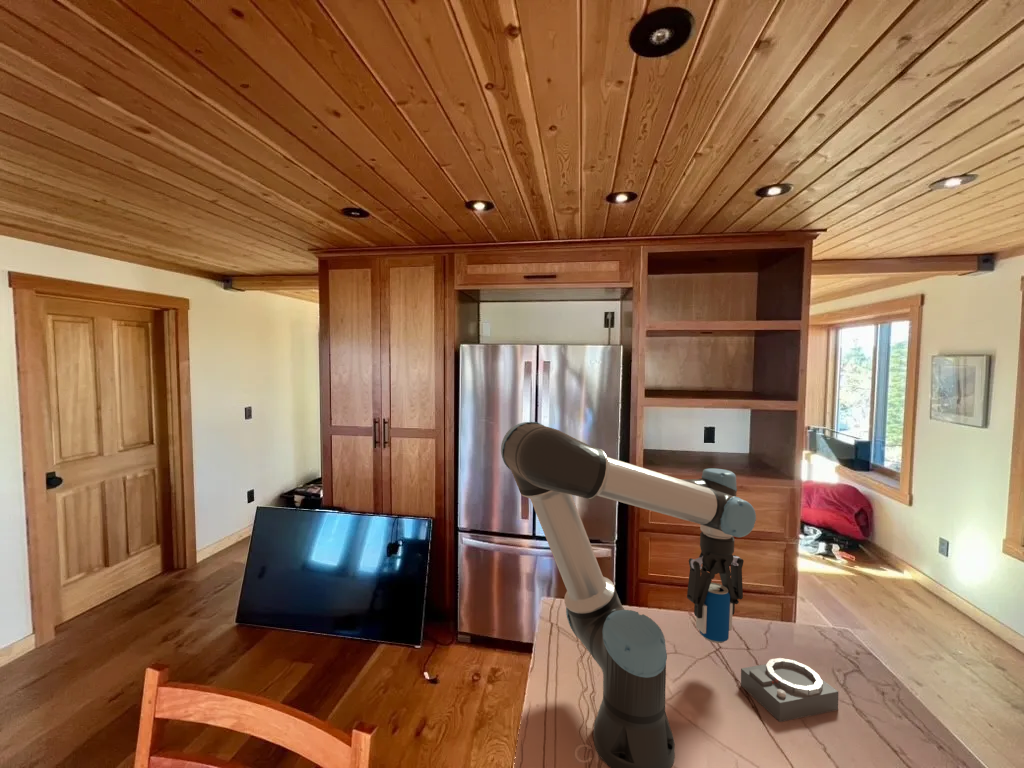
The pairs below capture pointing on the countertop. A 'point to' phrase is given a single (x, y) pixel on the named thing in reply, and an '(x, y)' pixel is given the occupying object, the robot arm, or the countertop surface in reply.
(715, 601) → the beverage can
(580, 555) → the robot arm
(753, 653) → the countertop surface
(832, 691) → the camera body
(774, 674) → the mount ring
